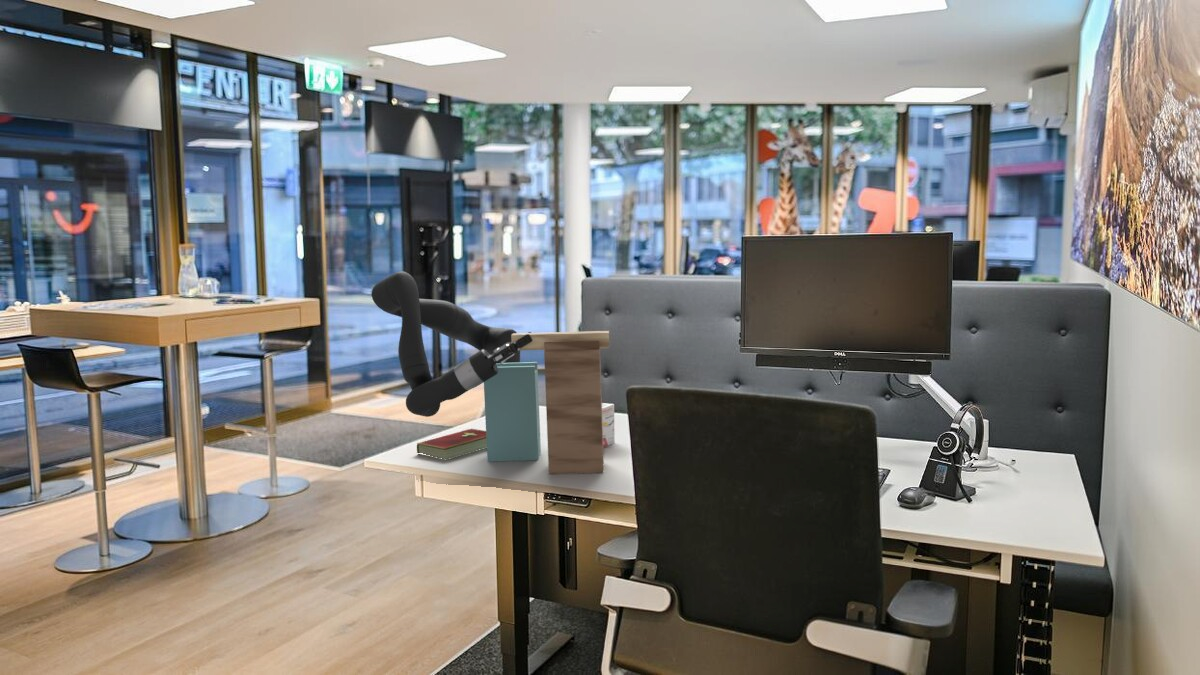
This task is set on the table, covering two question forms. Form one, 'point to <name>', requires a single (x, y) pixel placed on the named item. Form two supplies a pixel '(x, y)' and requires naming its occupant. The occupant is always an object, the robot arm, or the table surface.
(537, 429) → the teal tall block
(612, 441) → the ink cartridge box
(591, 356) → the walnut stand
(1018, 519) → the table surface
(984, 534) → the table surface
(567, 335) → the oak block
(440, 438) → the hardcover book
